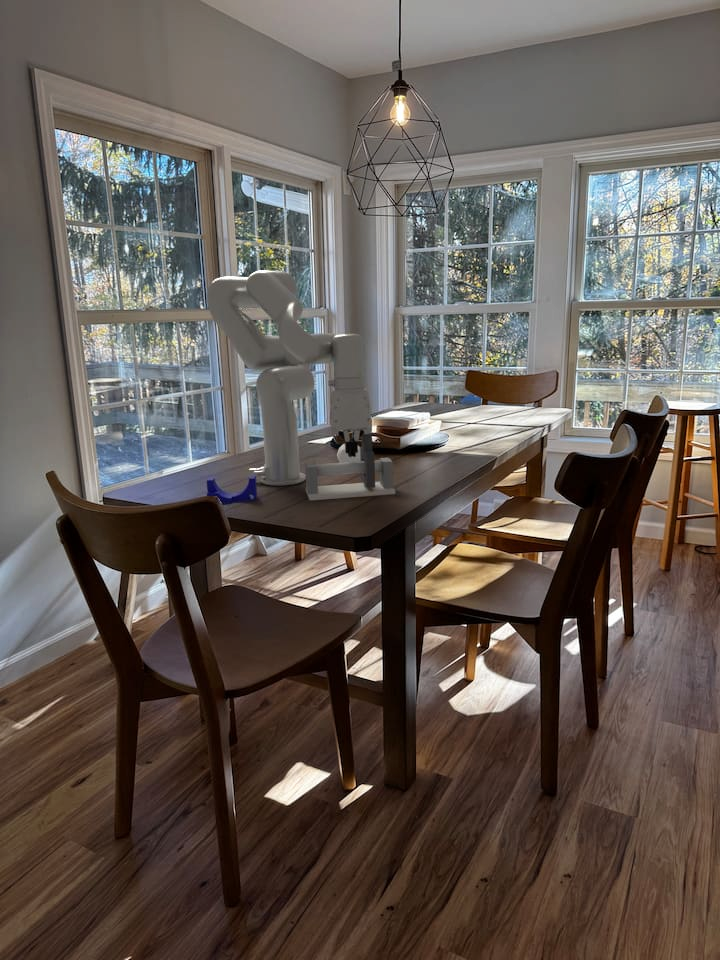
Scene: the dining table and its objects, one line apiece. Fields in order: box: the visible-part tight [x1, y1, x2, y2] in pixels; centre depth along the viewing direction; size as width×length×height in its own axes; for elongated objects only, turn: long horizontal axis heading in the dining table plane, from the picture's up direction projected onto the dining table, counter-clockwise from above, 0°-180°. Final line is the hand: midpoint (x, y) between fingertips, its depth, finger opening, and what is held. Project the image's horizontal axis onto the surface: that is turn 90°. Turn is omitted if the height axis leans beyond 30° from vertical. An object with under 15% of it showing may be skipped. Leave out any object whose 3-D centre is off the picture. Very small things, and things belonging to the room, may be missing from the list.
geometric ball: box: [336, 443, 361, 463], centre depth 202 cm, size 8×8×8 cm
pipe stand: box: [304, 457, 396, 501], centre depth 174 cm, size 22×10×8 cm, turn 100°
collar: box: [359, 432, 376, 488], centre depth 173 cm, size 2×9×13 cm, turn 10°
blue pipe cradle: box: [206, 475, 258, 504], centre depth 170 cm, size 12×4×6 cm, turn 93°
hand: (351, 455), depth 172 cm, fingers closed
